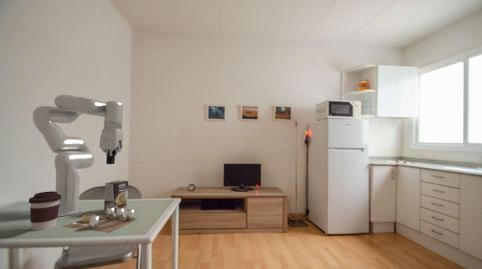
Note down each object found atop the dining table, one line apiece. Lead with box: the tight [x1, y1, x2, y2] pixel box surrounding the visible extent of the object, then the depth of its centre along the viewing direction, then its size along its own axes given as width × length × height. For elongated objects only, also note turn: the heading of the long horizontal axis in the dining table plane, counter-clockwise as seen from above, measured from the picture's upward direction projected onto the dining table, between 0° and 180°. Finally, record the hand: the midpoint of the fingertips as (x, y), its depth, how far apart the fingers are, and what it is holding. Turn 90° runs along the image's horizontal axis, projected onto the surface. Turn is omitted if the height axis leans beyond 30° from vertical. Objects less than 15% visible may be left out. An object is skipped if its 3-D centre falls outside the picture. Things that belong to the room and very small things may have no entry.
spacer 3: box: [115, 208, 125, 220], centre depth 96 cm, size 3×3×4 cm
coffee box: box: [103, 180, 129, 215], centre depth 108 cm, size 9×6×16 cm
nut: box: [81, 213, 96, 223], centre depth 93 cm, size 4×5×2 cm
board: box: [62, 214, 139, 234], centre depth 91 cm, size 24×16×1 cm, turn 76°
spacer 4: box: [125, 208, 135, 221], centre depth 95 cm, size 3×3×4 cm
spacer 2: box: [106, 207, 116, 219], centre depth 98 cm, size 3×3×4 cm
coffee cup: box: [28, 190, 62, 231], centre depth 87 cm, size 10×10×15 cm
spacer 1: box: [89, 214, 100, 229], centre depth 85 cm, size 3×3×4 cm
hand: (110, 163), depth 103 cm, fingers closed
